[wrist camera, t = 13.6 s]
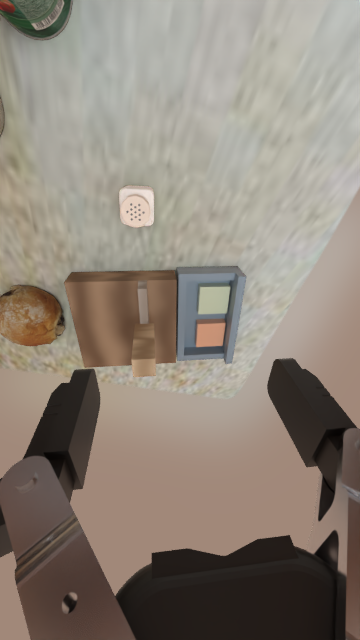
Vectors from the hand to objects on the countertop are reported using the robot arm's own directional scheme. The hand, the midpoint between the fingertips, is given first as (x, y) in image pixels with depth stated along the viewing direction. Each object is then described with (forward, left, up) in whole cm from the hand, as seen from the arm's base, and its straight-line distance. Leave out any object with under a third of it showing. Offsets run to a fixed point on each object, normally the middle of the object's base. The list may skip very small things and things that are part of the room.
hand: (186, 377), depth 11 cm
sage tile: (+9, -11, -28) cm, 31 cm away
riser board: (-6, -14, -30) cm, 34 cm away
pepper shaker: (-3, +4, -30) cm, 31 cm away
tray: (+7, -14, -30) cm, 34 cm away
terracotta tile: (+9, -18, -28) cm, 34 cm away
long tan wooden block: (-3, -13, -26) cm, 29 cm away
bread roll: (-21, -13, -30) cm, 39 cm away
